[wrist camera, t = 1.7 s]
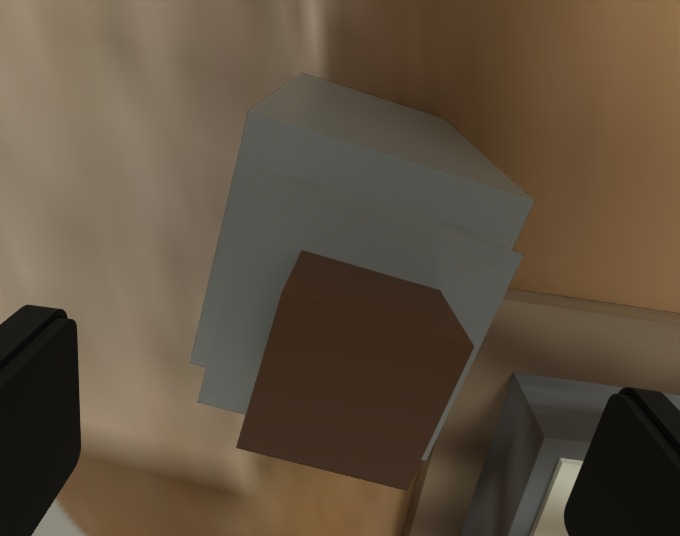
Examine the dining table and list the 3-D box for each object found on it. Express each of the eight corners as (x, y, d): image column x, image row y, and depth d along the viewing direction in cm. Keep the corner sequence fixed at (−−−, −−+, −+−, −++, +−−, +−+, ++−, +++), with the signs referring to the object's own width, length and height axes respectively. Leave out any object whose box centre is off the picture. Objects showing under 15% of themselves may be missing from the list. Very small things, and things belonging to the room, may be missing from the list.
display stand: (469, 282, 28) (503, 353, 22) (803, 331, 29) (929, 413, 23) (396, 555, 36) (405, 665, 30) (660, 588, 37) (724, 702, 30)
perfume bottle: (443, 118, 25) (624, 282, 8) (394, 250, 28) (459, 574, 11) (301, 72, 24) (193, 151, 8) (264, 211, 27) (124, 494, 10)
